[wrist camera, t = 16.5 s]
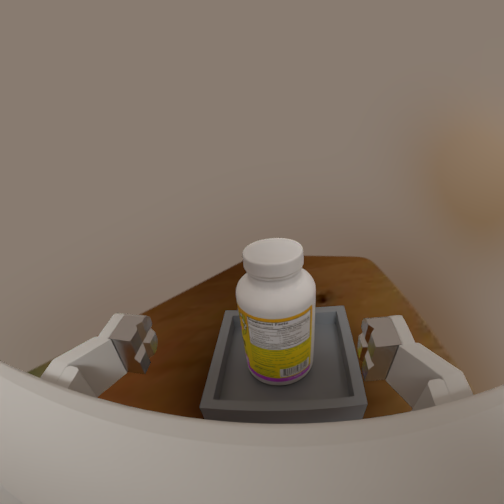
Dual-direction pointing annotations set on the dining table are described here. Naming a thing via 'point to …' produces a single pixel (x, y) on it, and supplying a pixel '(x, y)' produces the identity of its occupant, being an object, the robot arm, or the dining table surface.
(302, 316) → the supplement bottle
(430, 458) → the robot arm
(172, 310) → the dining table surface
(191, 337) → the dining table surface
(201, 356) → the dining table surface
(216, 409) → the tray
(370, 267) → the dining table surface
